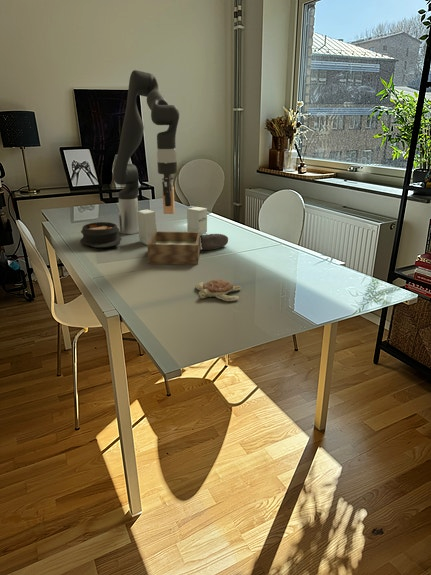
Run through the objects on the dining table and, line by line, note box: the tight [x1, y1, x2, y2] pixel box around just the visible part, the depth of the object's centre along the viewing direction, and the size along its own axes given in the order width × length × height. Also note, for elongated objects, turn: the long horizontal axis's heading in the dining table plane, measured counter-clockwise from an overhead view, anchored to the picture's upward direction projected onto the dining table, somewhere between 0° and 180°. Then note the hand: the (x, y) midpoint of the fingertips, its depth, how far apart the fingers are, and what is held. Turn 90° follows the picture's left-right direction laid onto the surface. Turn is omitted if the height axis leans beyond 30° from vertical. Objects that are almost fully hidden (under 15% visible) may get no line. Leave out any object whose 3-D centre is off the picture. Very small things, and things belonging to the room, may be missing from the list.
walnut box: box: [146, 230, 201, 265], centre depth 176 cm, size 20×20×8 cm
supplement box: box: [186, 206, 208, 235], centre depth 211 cm, size 7×7×13 cm
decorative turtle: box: [195, 279, 242, 302], centre depth 141 cm, size 18×17×5 cm
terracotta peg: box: [162, 186, 175, 215], centre depth 169 cm, size 4×4×10 cm
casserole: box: [80, 221, 123, 249], centre depth 193 cm, size 25×19×8 cm
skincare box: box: [137, 208, 158, 246], centre depth 194 cm, size 8×6×15 cm
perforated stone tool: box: [200, 233, 229, 251], centre depth 188 cm, size 15×5×7 cm, turn 120°
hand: (168, 204), depth 169 cm, fingers closed on terracotta peg, 4 cm apart
